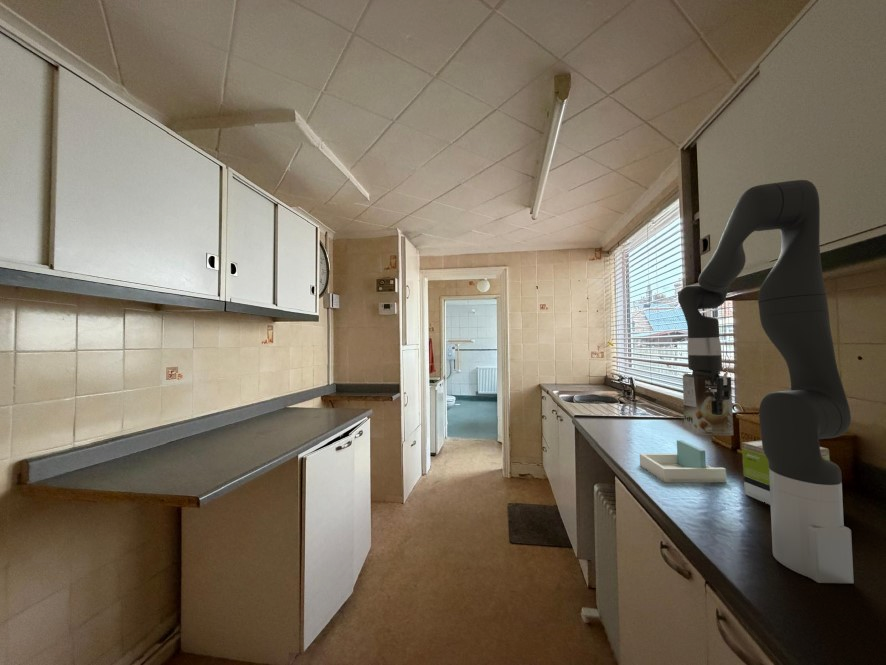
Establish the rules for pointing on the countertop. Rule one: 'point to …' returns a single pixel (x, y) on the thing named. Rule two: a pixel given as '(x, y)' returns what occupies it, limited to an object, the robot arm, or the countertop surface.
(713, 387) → the coffee box
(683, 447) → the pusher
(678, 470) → the white rectangular tray
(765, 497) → the tea box
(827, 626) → the countertop surface
